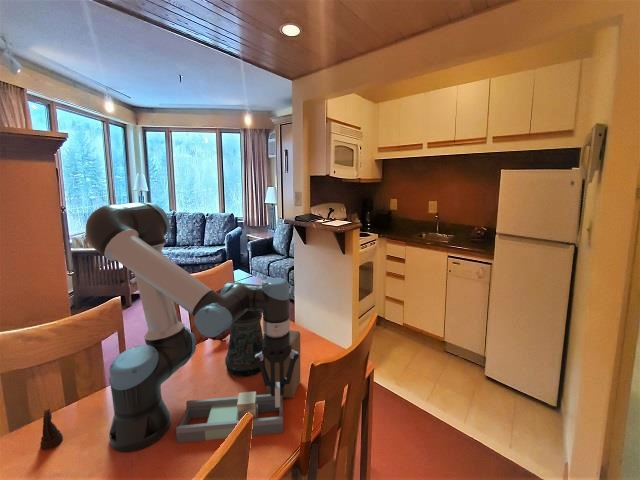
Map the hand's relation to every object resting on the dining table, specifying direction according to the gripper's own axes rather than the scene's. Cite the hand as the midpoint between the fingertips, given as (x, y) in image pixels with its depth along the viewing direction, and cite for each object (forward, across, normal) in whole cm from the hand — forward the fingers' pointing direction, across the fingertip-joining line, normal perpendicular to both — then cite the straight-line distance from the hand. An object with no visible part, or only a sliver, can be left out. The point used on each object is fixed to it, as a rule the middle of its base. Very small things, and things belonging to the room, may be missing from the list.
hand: (277, 404), depth 93 cm
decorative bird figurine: (+5, -25, +47) cm, 54 cm away
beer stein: (+5, -13, +30) cm, 34 cm away
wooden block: (+5, +2, +14) cm, 15 cm away
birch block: (+2, -9, 0) cm, 9 cm away
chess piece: (+5, -61, -2) cm, 61 cm away
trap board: (+5, -13, 0) cm, 14 cm away
